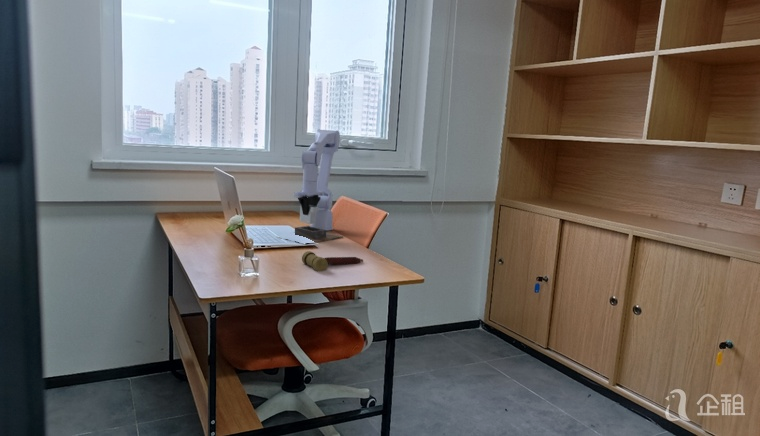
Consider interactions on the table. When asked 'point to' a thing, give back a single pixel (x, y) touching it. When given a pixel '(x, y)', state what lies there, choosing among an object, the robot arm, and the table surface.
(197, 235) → the table surface
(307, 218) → the steel bracket
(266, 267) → the table surface
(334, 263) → the gavel
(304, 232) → the slot board
